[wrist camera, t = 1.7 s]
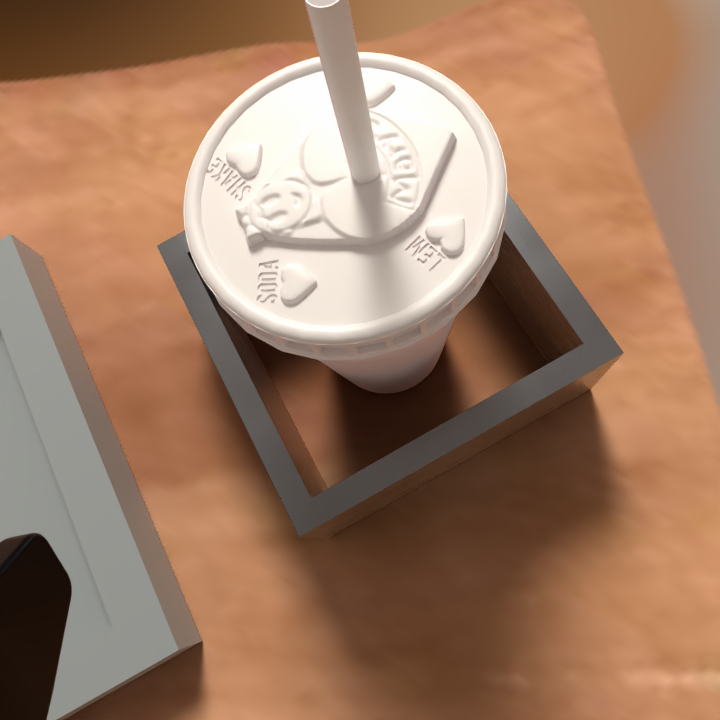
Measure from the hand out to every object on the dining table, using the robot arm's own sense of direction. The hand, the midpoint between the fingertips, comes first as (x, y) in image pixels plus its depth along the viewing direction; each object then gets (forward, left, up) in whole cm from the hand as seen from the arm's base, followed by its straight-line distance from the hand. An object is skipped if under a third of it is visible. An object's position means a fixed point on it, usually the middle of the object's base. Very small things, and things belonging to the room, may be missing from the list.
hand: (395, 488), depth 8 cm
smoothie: (+6, -2, -13) cm, 14 cm away
